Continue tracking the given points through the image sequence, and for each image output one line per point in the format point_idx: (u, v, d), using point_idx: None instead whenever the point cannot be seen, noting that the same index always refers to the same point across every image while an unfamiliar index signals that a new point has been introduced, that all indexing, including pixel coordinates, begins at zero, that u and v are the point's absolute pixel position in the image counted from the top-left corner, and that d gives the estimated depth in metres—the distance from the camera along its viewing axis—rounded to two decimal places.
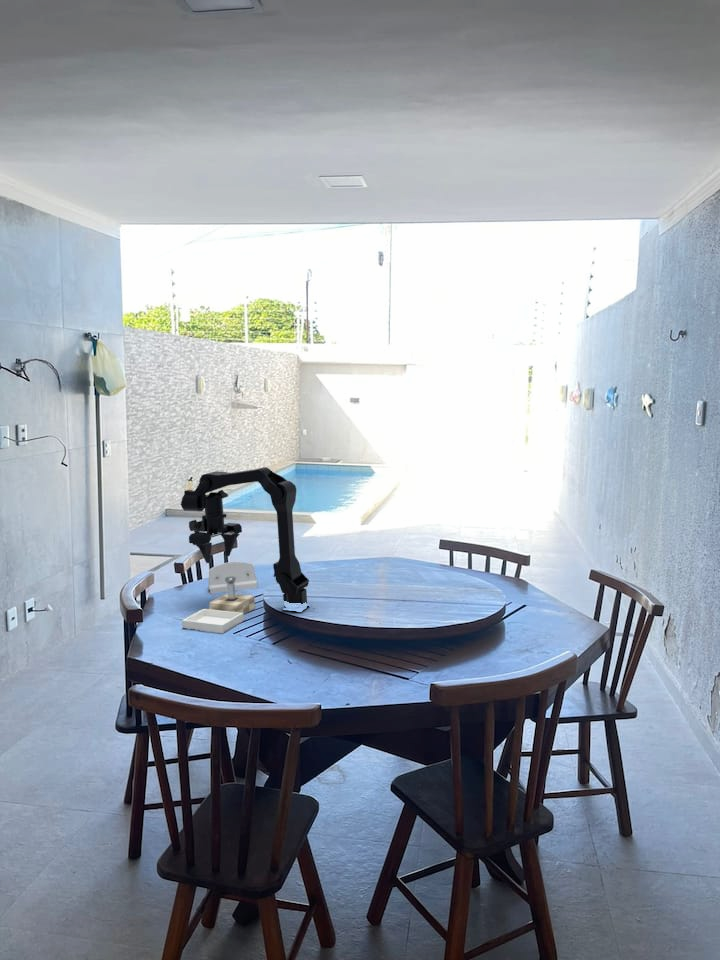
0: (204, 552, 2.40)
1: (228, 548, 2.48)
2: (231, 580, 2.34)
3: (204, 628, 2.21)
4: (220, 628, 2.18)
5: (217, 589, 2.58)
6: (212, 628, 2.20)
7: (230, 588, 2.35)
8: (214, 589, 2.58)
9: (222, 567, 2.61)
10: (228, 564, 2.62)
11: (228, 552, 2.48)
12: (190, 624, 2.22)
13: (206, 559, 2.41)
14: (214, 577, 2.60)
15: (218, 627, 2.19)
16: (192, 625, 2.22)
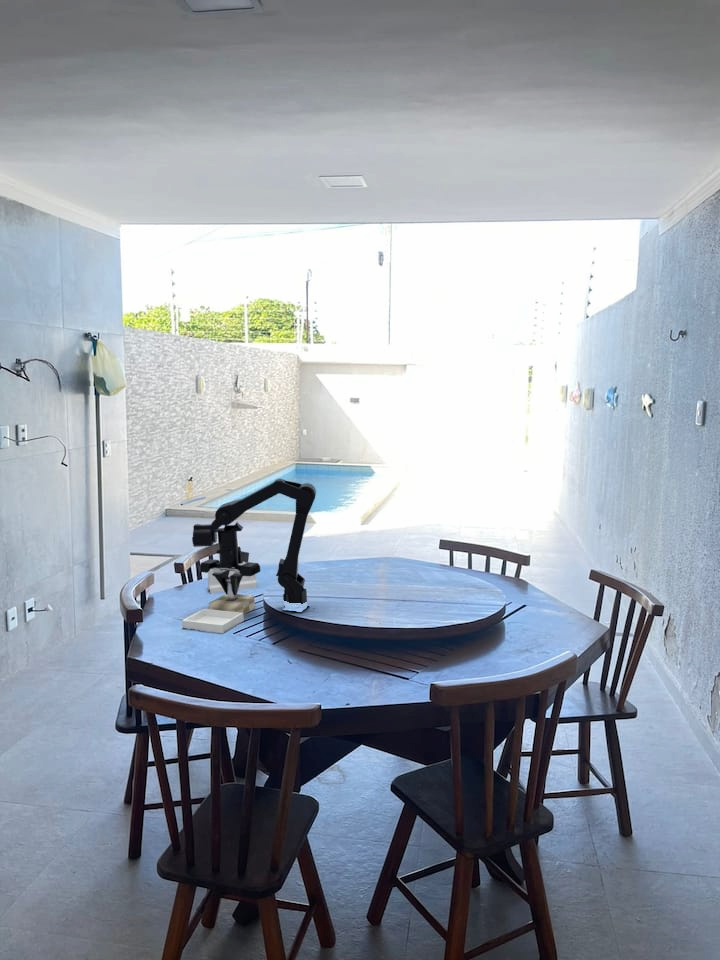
0: None
1: None
2: None
3: (204, 628, 2.21)
4: (220, 628, 2.18)
5: (217, 589, 2.58)
6: (212, 628, 2.20)
7: (230, 588, 2.35)
8: (214, 589, 2.58)
9: None
10: None
11: None
12: (190, 624, 2.22)
13: None
14: (213, 577, 2.60)
15: (218, 627, 2.19)
16: (192, 625, 2.22)
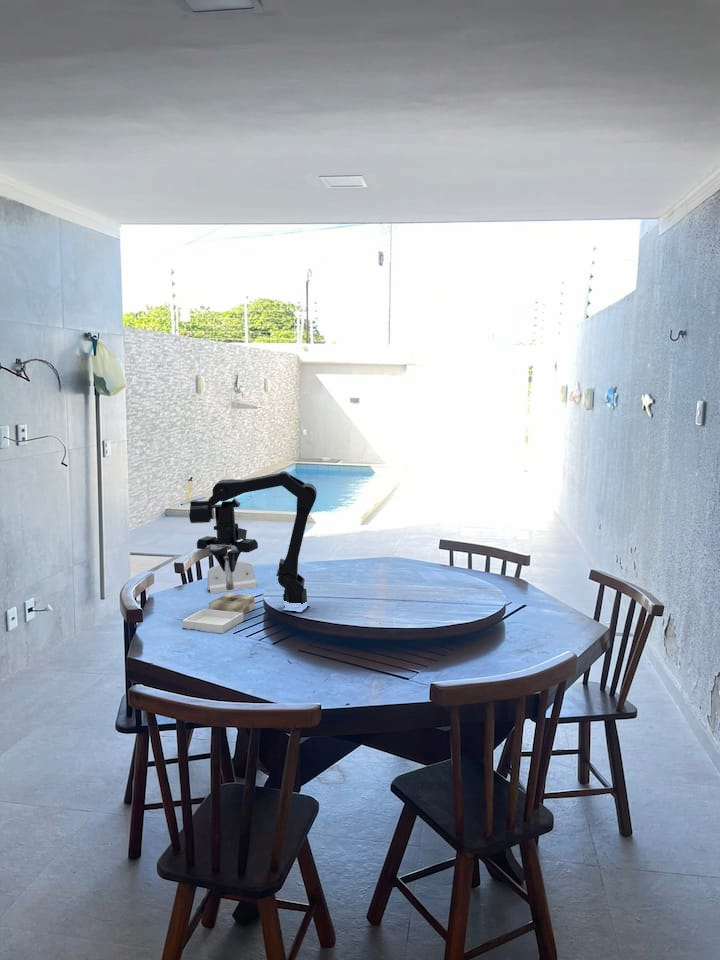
0: None
1: None
2: None
3: (204, 628, 2.21)
4: (220, 628, 2.18)
5: (217, 589, 2.58)
6: (212, 628, 2.20)
7: (228, 564, 2.33)
8: (214, 589, 2.58)
9: None
10: None
11: None
12: (190, 624, 2.22)
13: None
14: (213, 577, 2.60)
15: (218, 627, 2.19)
16: (192, 625, 2.22)
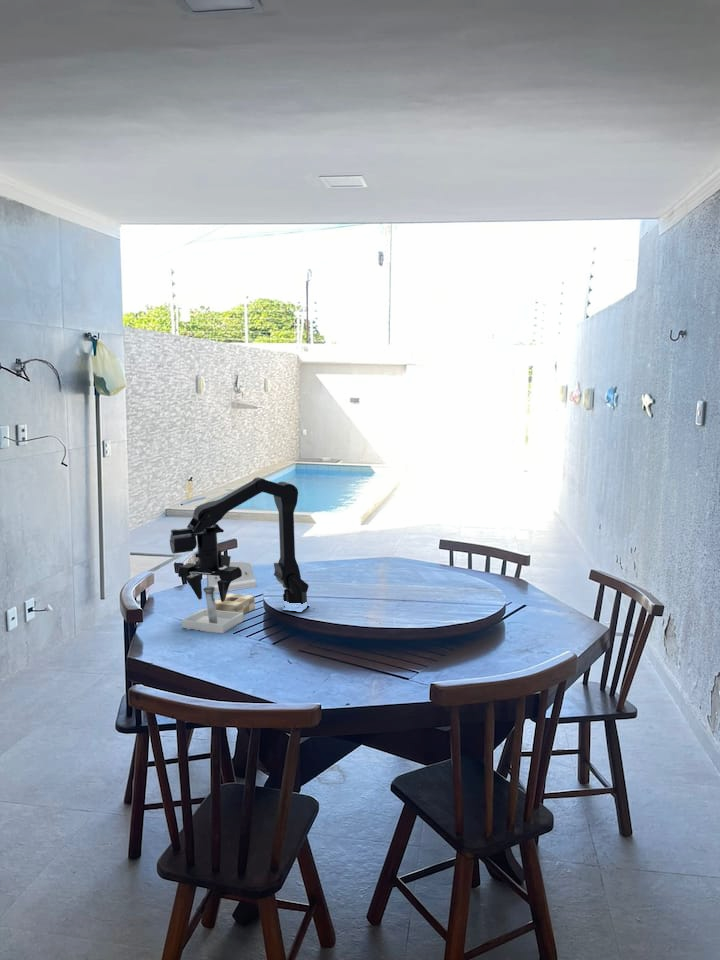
0: None
1: None
2: (210, 590, 2.23)
3: (204, 628, 2.21)
4: (220, 628, 2.18)
5: (217, 589, 2.58)
6: (212, 628, 2.20)
7: (210, 598, 2.23)
8: None
9: None
10: None
11: None
12: (190, 624, 2.22)
13: None
14: (213, 577, 2.59)
15: (218, 627, 2.19)
16: (192, 625, 2.22)
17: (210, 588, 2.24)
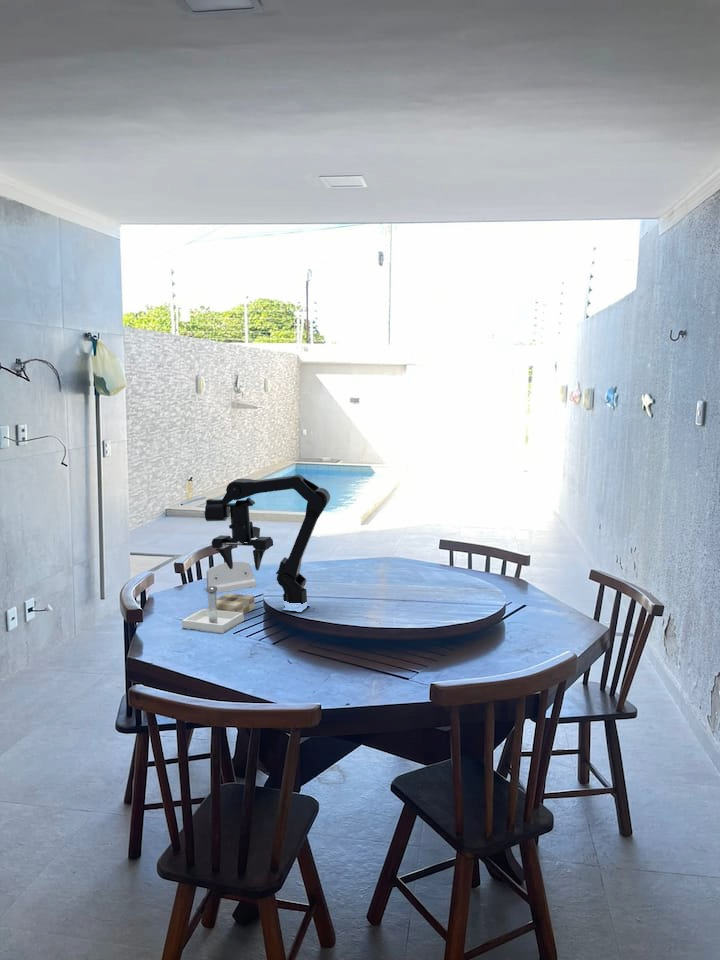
0: None
1: None
2: (212, 590, 2.23)
3: (204, 628, 2.21)
4: (220, 628, 2.18)
5: (217, 589, 2.58)
6: (212, 628, 2.20)
7: (211, 598, 2.24)
8: None
9: (220, 567, 2.61)
10: (226, 564, 2.62)
11: None
12: (190, 624, 2.22)
13: None
14: (213, 577, 2.59)
15: (218, 627, 2.19)
16: (192, 625, 2.22)
17: (213, 588, 2.24)
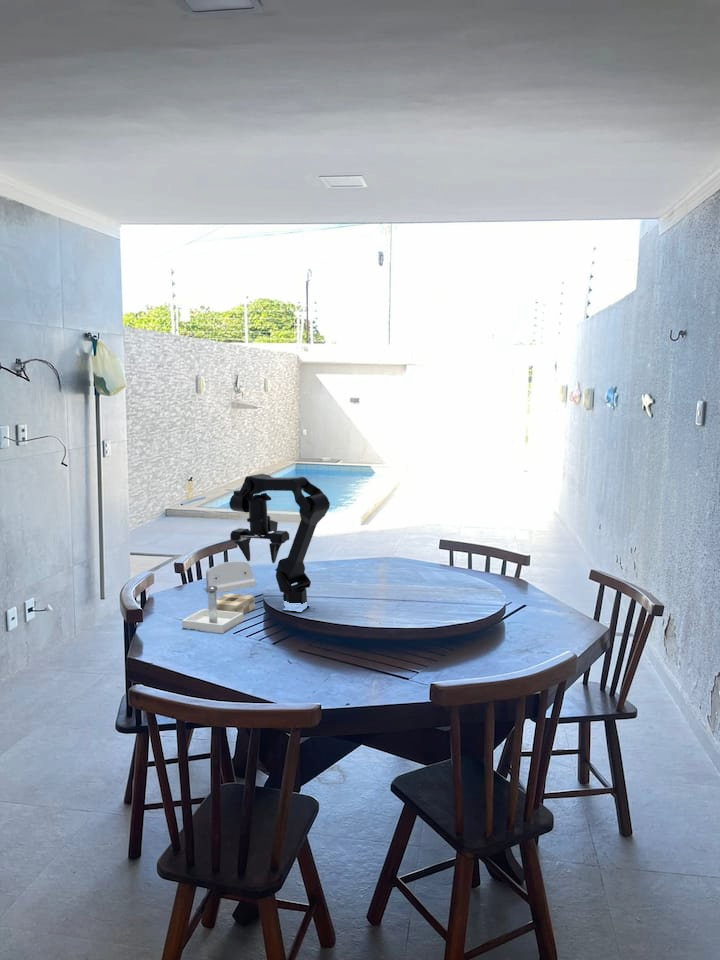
0: None
1: None
2: (212, 589, 2.23)
3: (204, 628, 2.21)
4: (220, 628, 2.18)
5: (218, 589, 2.58)
6: (212, 628, 2.20)
7: (211, 597, 2.24)
8: None
9: (220, 567, 2.61)
10: (226, 564, 2.62)
11: None
12: (190, 624, 2.22)
13: None
14: (213, 577, 2.59)
15: (218, 627, 2.19)
16: (192, 625, 2.22)
17: (213, 587, 2.24)
